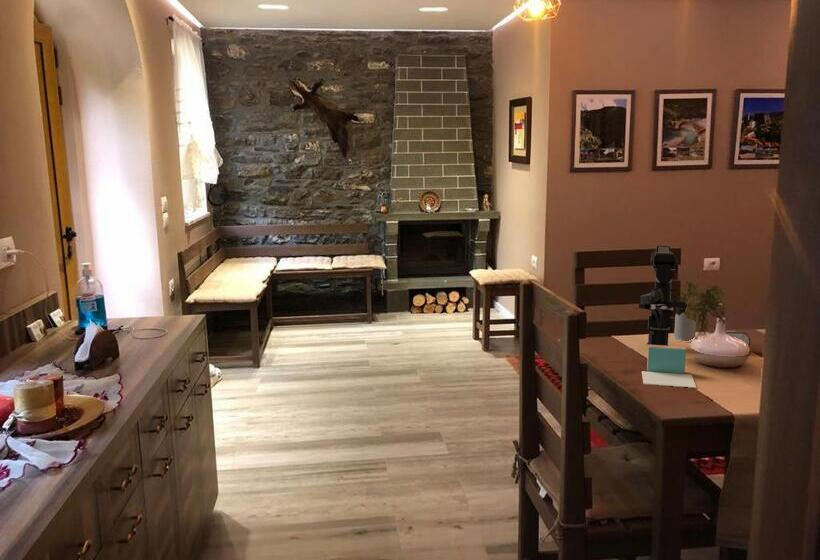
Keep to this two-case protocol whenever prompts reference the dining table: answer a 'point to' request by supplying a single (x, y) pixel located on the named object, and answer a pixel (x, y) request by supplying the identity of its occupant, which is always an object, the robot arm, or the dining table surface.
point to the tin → (739, 335)
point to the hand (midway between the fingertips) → (661, 328)
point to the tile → (666, 359)
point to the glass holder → (683, 326)
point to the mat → (668, 379)
